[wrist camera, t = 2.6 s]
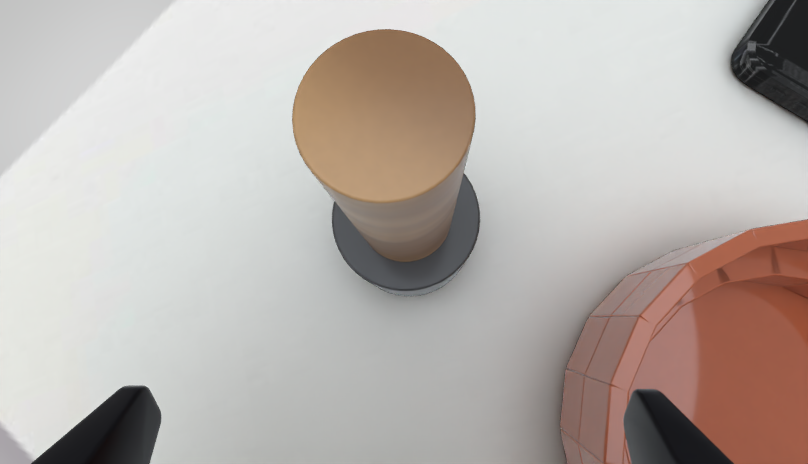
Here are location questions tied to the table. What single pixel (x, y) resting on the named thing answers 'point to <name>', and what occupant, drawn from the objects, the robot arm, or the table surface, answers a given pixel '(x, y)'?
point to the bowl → (701, 349)
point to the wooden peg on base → (392, 156)
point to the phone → (777, 55)
